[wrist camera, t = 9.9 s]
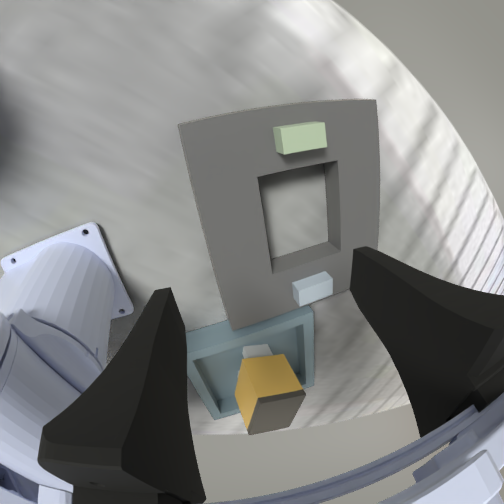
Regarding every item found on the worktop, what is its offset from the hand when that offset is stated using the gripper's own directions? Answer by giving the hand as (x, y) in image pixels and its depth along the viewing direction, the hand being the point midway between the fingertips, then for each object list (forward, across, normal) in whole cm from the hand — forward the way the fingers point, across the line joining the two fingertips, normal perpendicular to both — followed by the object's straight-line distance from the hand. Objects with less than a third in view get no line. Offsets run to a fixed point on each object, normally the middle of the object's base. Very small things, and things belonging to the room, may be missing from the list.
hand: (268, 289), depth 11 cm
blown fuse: (+10, +1, +17) cm, 19 cm away
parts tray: (+10, +1, +17) cm, 20 cm away
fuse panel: (+11, -4, +2) cm, 12 cm away
